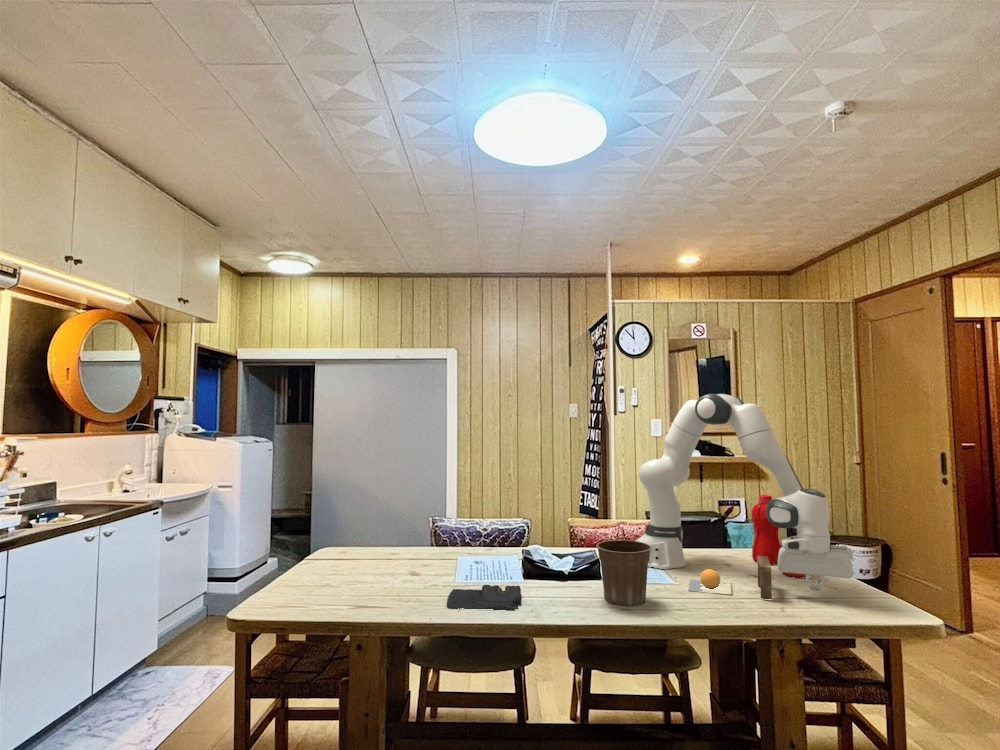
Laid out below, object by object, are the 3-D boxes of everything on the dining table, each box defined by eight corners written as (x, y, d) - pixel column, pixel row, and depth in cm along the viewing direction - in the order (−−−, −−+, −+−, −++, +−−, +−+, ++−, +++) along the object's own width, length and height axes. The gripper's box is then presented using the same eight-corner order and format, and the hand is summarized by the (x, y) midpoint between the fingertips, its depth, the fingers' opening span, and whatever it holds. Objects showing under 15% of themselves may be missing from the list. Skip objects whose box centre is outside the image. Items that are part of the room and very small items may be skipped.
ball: (706, 568, 185) (724, 577, 184) (704, 563, 191) (722, 573, 189) (697, 585, 186) (716, 594, 184) (696, 579, 191) (714, 589, 190)
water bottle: (745, 561, 223) (743, 494, 224) (765, 558, 227) (764, 493, 229) (765, 566, 214) (763, 497, 216) (786, 563, 219) (784, 496, 221)
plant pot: (611, 611, 165) (611, 553, 166) (588, 594, 181) (587, 541, 182) (662, 606, 170) (662, 550, 171) (635, 590, 185) (634, 538, 186)
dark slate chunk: (451, 594, 181) (451, 579, 182) (522, 596, 180) (522, 580, 180) (444, 611, 166) (444, 594, 166) (521, 613, 165) (521, 596, 165)
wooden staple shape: (761, 599, 176) (760, 566, 177) (758, 586, 190) (757, 555, 191) (772, 600, 175) (771, 567, 176) (768, 587, 189) (767, 556, 190)
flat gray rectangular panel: (688, 590, 184) (688, 590, 184) (690, 580, 197) (690, 579, 197) (732, 595, 180) (732, 595, 180) (731, 584, 192) (731, 583, 192)
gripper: (850, 544, 178) (851, 590, 177) (776, 538, 185) (777, 583, 184) (854, 548, 172) (856, 596, 171) (778, 542, 179) (779, 588, 179)
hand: (814, 589), depth 178 cm, fingers closed
